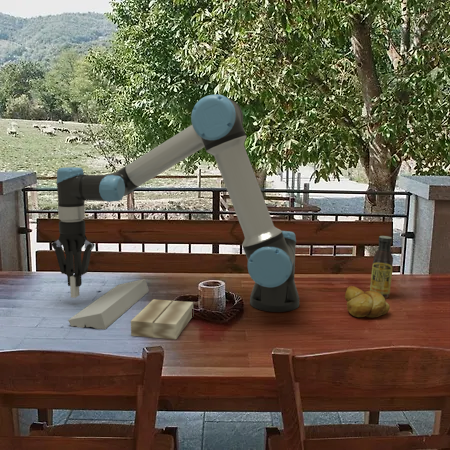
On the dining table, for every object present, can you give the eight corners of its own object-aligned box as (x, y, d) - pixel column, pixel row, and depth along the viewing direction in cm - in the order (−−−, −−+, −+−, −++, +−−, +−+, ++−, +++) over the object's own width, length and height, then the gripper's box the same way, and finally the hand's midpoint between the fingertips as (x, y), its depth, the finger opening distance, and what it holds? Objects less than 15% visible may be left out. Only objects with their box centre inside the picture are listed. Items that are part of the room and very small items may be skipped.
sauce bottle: (368, 298, 164) (372, 237, 161) (370, 292, 170) (374, 234, 167) (389, 300, 162) (393, 239, 159) (391, 295, 168) (395, 235, 164)
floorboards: (193, 315, 147) (193, 301, 146) (176, 339, 130) (175, 323, 129) (153, 312, 149) (153, 298, 148) (131, 335, 132) (130, 319, 131)
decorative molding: (73, 336, 138) (106, 330, 136) (67, 320, 137) (101, 313, 135) (121, 298, 171) (149, 292, 169) (118, 284, 170) (145, 278, 168)
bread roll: (385, 309, 154) (387, 284, 153) (395, 321, 144) (396, 294, 143) (342, 309, 154) (343, 283, 153) (349, 320, 145) (350, 293, 143)
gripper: (97, 218, 154) (100, 294, 158) (57, 217, 156) (61, 291, 160) (86, 222, 146) (89, 301, 150) (45, 221, 149) (49, 298, 153)
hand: (75, 296), depth 155 cm, fingers closed
